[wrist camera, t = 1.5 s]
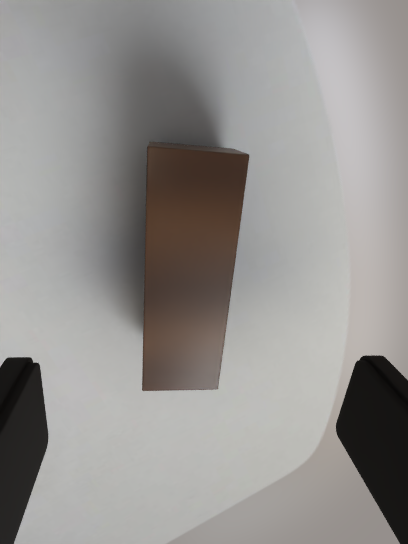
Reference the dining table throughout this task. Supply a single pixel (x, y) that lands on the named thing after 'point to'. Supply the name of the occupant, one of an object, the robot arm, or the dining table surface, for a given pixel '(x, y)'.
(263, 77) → the dining table surface
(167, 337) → the brown wooden block
